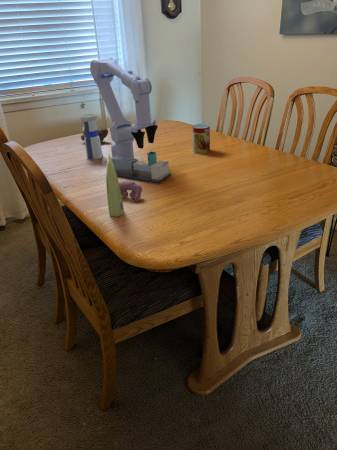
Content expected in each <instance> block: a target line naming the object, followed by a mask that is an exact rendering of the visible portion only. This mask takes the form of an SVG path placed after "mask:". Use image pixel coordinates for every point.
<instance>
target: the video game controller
mask: <svg viewBox="0 0 337 450" xmlns="http://www.w3.org/2000/svg"><path fill="white" fill-rule="evenodd" d="M119 186H120V191H121V196H122V198H128V197H129V198H130V199H134V201H135V202H136V203H139V201H140V199H141V197H142V196H141V194H142V192H143V188H142V186H141V185H140V184H138V183H136V182H133V181H124V182H123V181H122V182H119ZM128 191H130V192H128Z"/></svg>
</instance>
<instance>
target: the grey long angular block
mask: <svg viewBox="0 0 337 450" xmlns="http://www.w3.org/2000/svg"><path fill="white" fill-rule="evenodd" d="M111 159H112V162H113V165H114V168H115V171H116V174H117V178H122V179H127V180H132V181H140V182H143V183H149V184H155V185H160V184H161V183H163V182H164V181H165V180H167V179H169V178H170V177H171V176H172V172H169V175H168V176H166V177H165V178H163V179H162V180H156V179H152V175H151V172H145V171H139V170H133V169H132V164H131V163H132V162H134V161H137V162H138V160H137V159H138V158H135V157H134V158H129V157H122V156H114V157H112V156H111Z"/></svg>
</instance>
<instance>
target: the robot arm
mask: <svg viewBox="0 0 337 450" xmlns="http://www.w3.org/2000/svg"><path fill="white" fill-rule="evenodd" d="M89 71H90V74H91V76H92V79H93V81H94V84H96V86H97V89H98V91H99V94H100V95H101V98H102V100H103V102H104V106H105V108H106V109H107V112H108V114H109V117H110V119H111V122H112V124H111V125H110V127H109V130H108V131H109V132H110V137H111V140H112V144H111V149H110V150H111V158H112V157H114V156H122V157H129V158H135V152H134V141H135V142H136V145H137V148H138V149H144V146H145V144H144V142H145V141H144V138H145V134H146V137H147V142H148V143H149V144H154V141H155V137H156V132H157V130H158V125H157V120H156V118H152V115H151V114H152V113H151V103H150V102H151V101H150V94H151V93H152V91H153V85H152V83H151V80H149V79H148V78H145V77H144V78H141V77H140V75H137V74H136V73H134V71H133V70H131V69H130V70H125V69H123V68H122V67H121V66H120V65H119V64H118V63H117V60H115V58H113V57H107V58H102V59H101V58H100V59H92V60H91V61H90V65H89ZM115 77H117V78H118V79H120V82H121V84H122V85H124V86H125V87H127V88H128V89H129V90H130V92H131V94H132V97H133V98H132V99H133V101H134V104H135V105H134V106H135V115H136V116H135V117H136V123H135V124H134V125H132V123H131V121H130V120H128V119H126V118H125V117H124V116H123V112H122V110H121V108H120V106H119V105H120V104H119V103H118V100H117V97H116V95H115V93H114V91H113V88H112V86H111V82H112V81H113V80H114V78H115ZM142 130H145V131H142ZM136 159H137V161H139V158H136Z"/></svg>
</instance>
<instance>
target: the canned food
mask: <svg viewBox="0 0 337 450" xmlns="http://www.w3.org/2000/svg"><path fill="white" fill-rule="evenodd" d="M192 150H193V151H192V152H193V153H194V154H199V155H205V154H208V153H210V151H211V126H210V124H207V123H197V124H194V125H192Z"/></svg>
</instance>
